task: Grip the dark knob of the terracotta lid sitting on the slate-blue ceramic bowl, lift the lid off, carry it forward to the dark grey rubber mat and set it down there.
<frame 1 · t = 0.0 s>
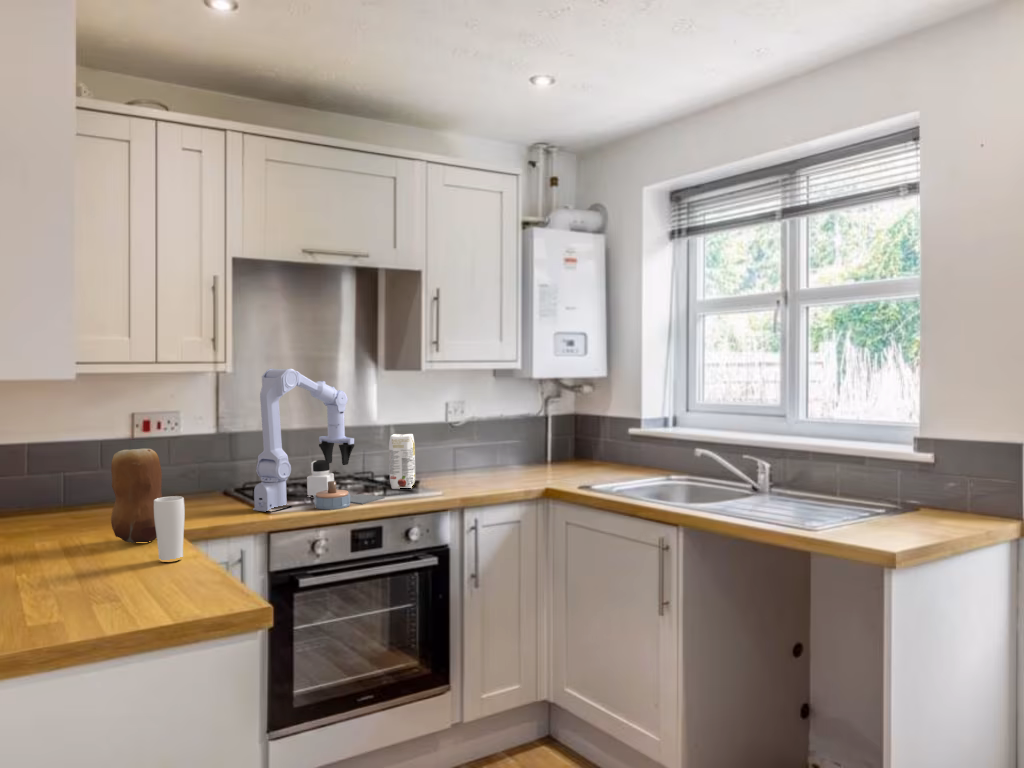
hand: (337, 463, 268), 10 cm above the worktop, tool pointing down, fingers open, 7 cm apart
butternut squash: (140, 543, 204), on the worktop
bowl: (332, 506, 247), on the worktop
medicine bottle: (321, 496, 265), on the worktop
juice carton: (402, 488, 277), on the worktop
drinking glass: (171, 561, 187), on the worktop
mat: (360, 499, 257), on the worktop
lid: (332, 495, 247), point 3 cm above the worktop, touching bowl
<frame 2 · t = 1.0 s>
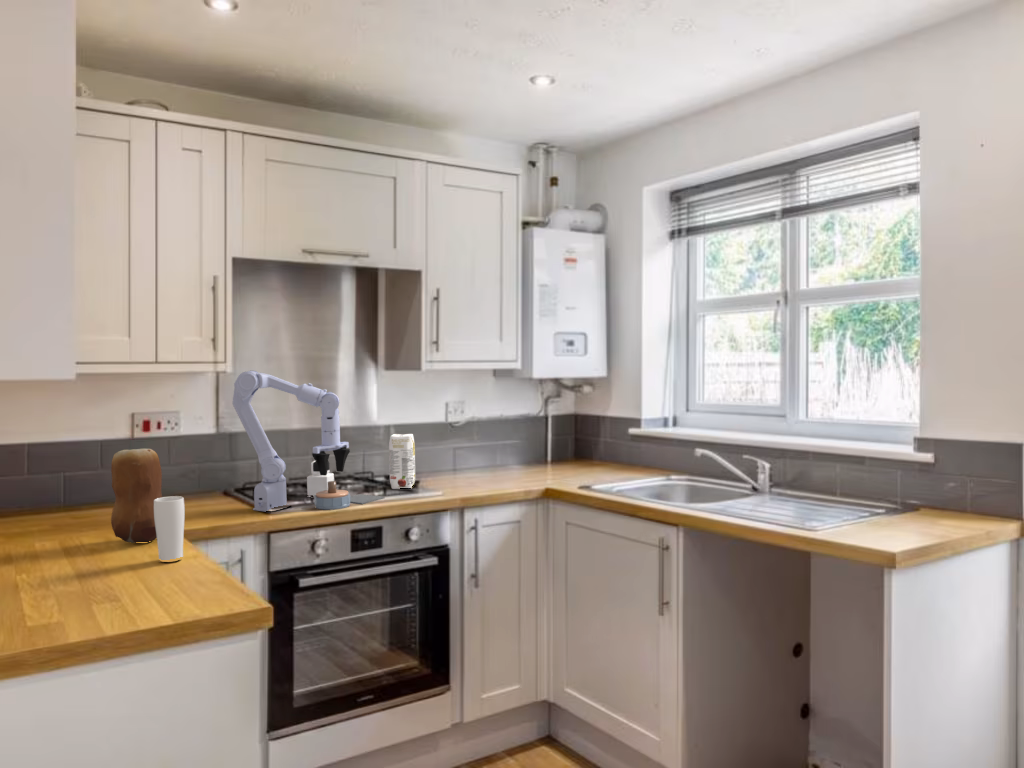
hand: (331, 473, 247), 10 cm above the worktop, tool pointing down, fingers open, 7 cm apart
nothing on the worktop moved.
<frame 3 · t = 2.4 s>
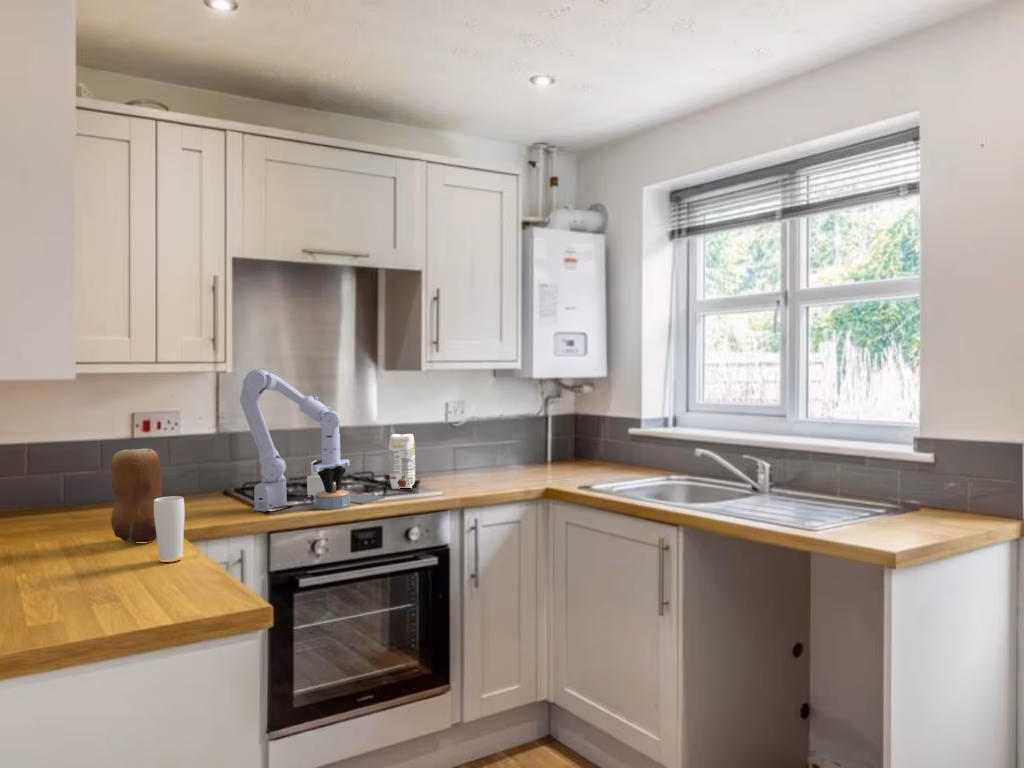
hand: (332, 491, 247), 5 cm above the worktop, tool pointing down, fingers closed on lid, 3 cm apart
lid: (332, 495, 247), point 3 cm above the worktop, touching bowl, gripper
everything else where it was.
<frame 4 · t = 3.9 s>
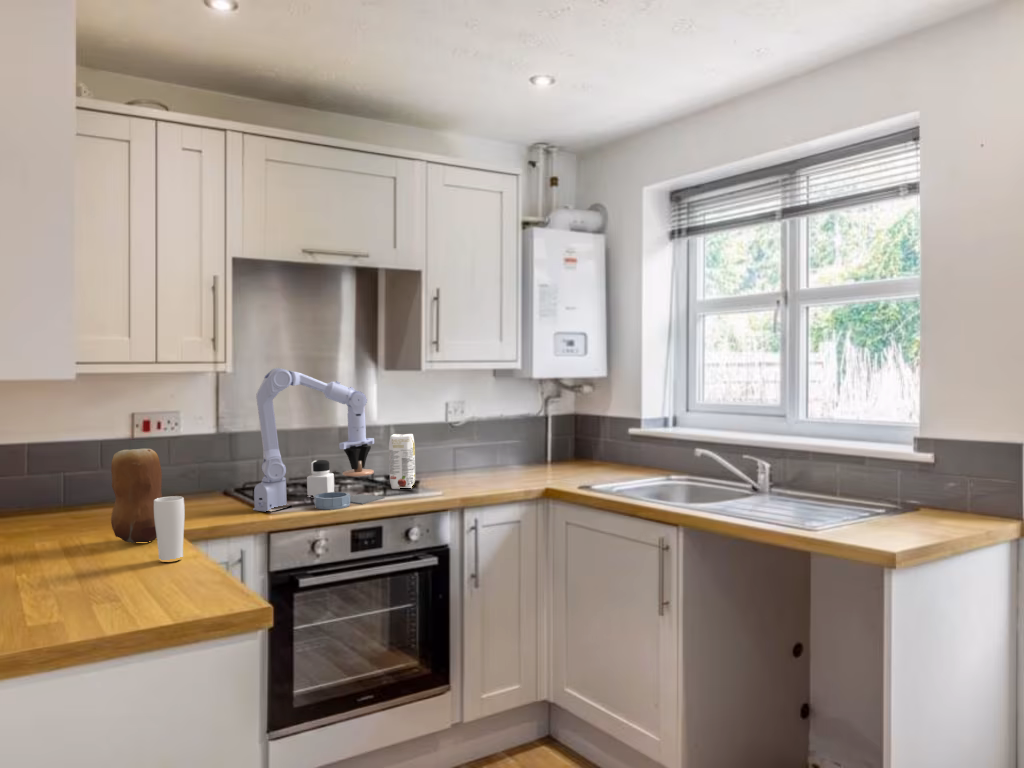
hand: (358, 468, 256), 10 cm above the worktop, tool pointing down, fingers closed on lid, 3 cm apart
lid: (358, 473, 256), point 9 cm above the worktop, touching gripper
everything else where it was.
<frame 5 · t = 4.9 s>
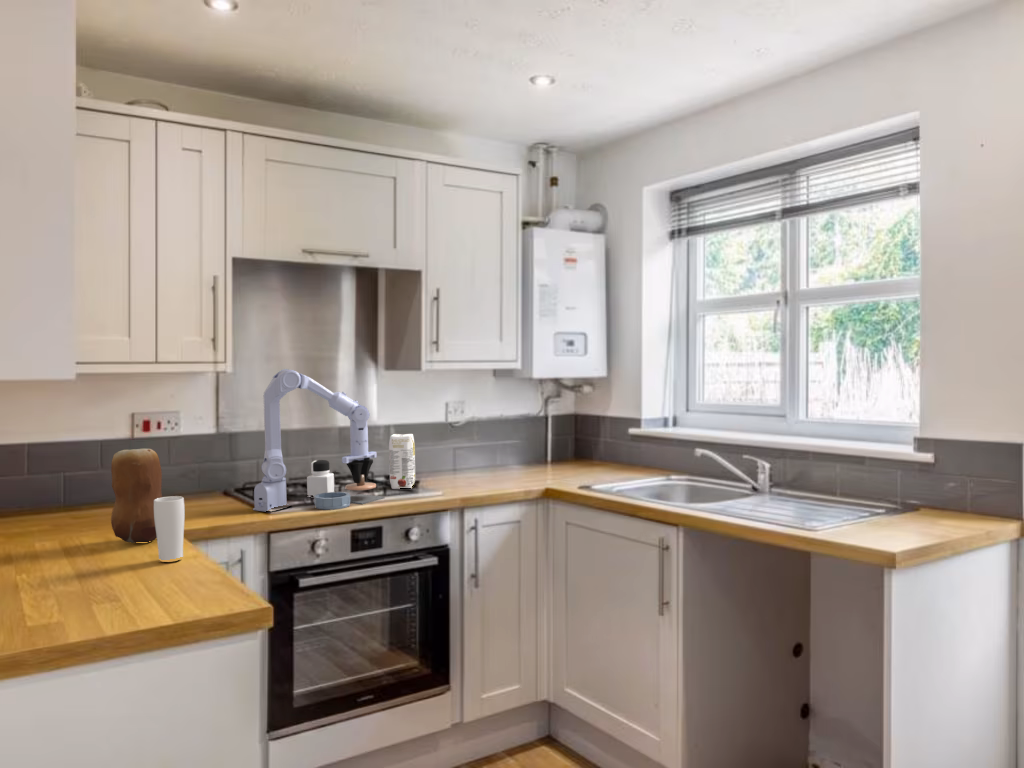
hand: (360, 482, 257), 6 cm above the worktop, tool pointing down, fingers closed on lid, 3 cm apart
lid: (360, 487, 257), point 4 cm above the worktop, touching gripper
everything else where it was.
when the fingers open (3 cm above the worktop, at t = 5.7 s): lid stays where it is, resting on mat.
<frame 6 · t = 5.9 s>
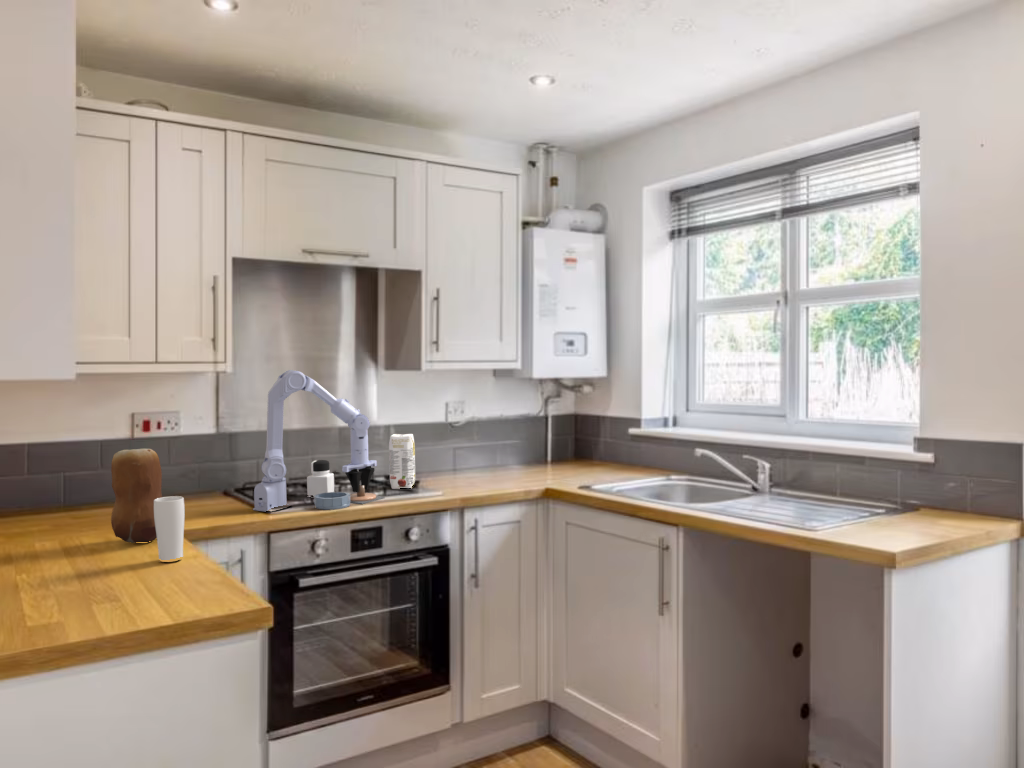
hand: (360, 490, 257), 3 cm above the worktop, tool pointing down, fingers open, 4 cm apart
lid: (360, 498, 257), resting on mat
everything else where it was.
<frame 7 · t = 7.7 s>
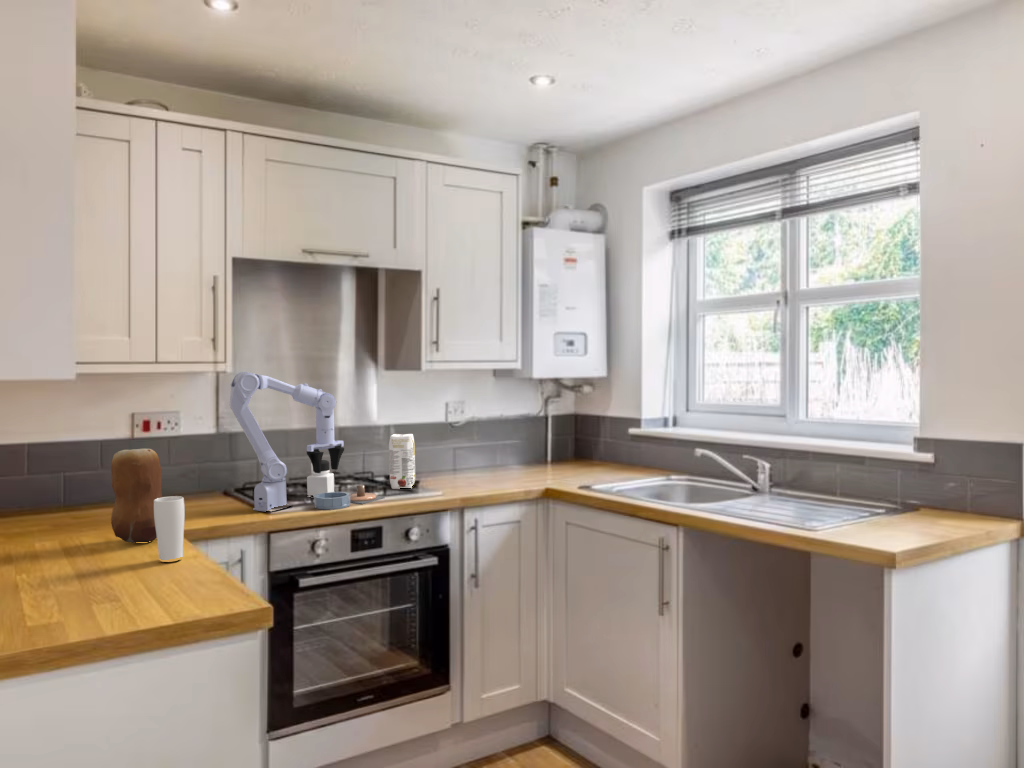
hand: (326, 471, 253), 10 cm above the worktop, tool pointing down, fingers open, 7 cm apart
nothing on the worktop moved.
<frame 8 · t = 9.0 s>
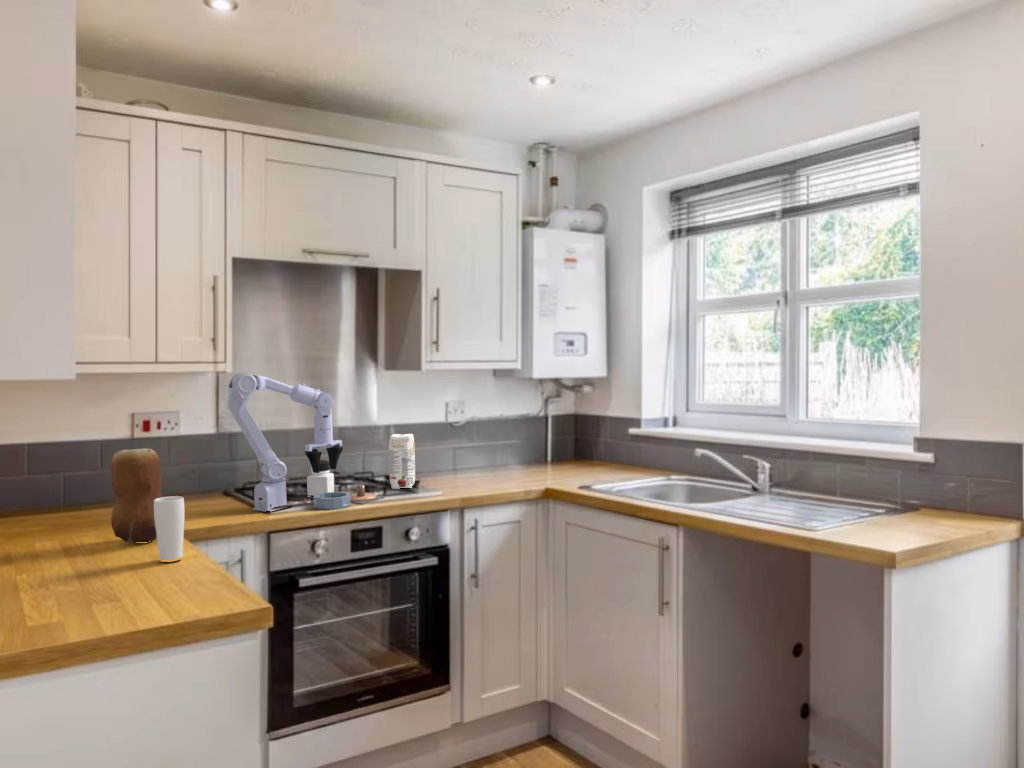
hand: (324, 470, 252), 10 cm above the worktop, tool pointing down, fingers open, 7 cm apart
nothing on the worktop moved.
at the end: lid inside the target area on the mat (0.1 cm from its centre), point 0.4 cm above the mat's base; lid touching mat; lid tilted 0° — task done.
